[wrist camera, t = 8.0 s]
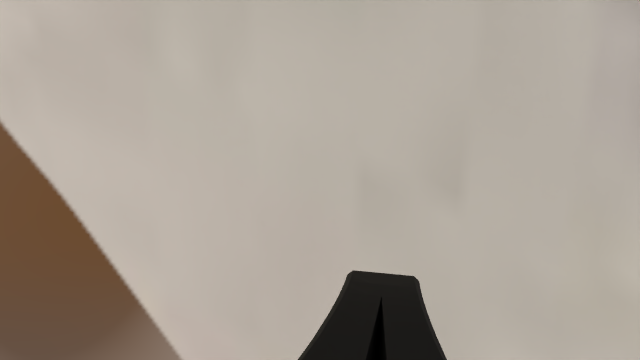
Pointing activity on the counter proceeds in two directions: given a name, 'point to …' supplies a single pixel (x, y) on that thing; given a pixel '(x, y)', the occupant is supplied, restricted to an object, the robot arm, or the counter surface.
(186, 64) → the counter surface
